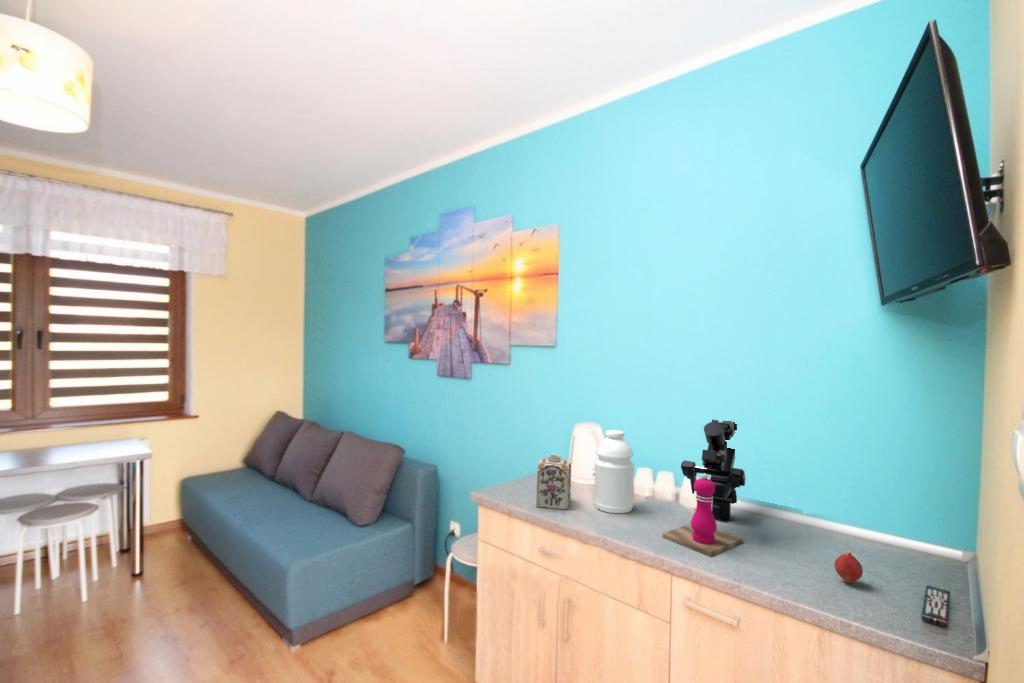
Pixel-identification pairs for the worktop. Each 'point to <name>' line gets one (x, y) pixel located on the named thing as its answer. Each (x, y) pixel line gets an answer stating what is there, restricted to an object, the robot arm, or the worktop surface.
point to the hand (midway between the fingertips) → (708, 496)
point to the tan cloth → (685, 538)
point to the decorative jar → (553, 482)
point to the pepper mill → (704, 512)
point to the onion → (848, 567)
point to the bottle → (614, 474)
